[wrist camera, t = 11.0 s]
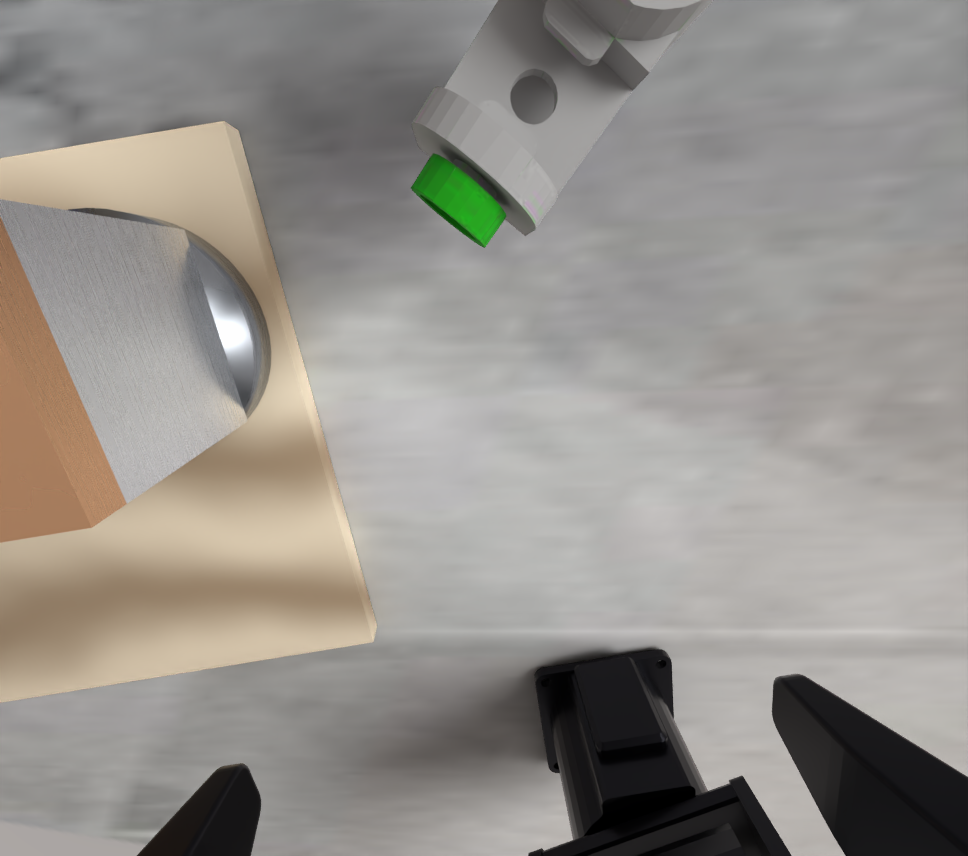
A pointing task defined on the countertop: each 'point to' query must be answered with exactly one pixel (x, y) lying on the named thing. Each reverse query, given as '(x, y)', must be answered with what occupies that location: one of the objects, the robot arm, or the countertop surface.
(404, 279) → the countertop surface
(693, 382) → the countertop surface
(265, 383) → the grey frying pan
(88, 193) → the workboard
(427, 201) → the mechanical component
